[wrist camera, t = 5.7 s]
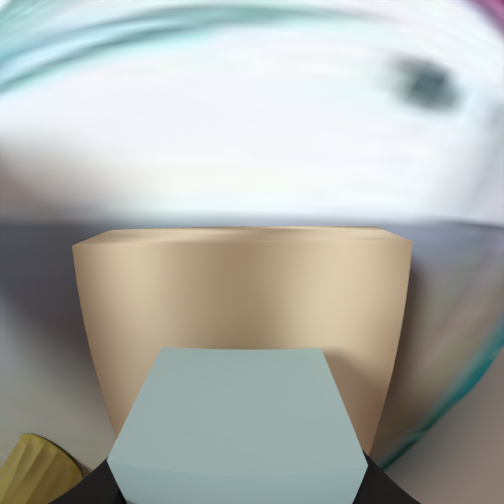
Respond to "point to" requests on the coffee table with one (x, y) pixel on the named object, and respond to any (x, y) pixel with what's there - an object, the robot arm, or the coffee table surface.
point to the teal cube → (238, 431)
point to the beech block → (246, 303)
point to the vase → (36, 472)
